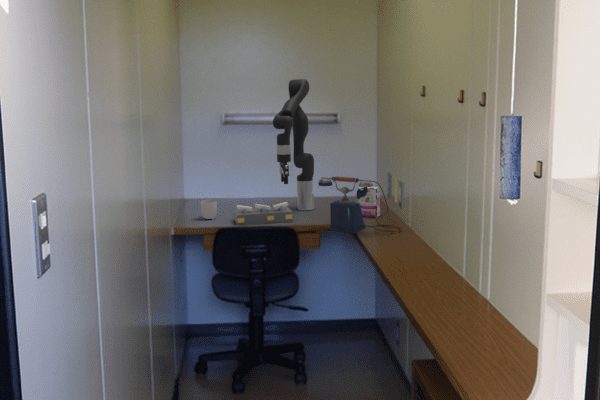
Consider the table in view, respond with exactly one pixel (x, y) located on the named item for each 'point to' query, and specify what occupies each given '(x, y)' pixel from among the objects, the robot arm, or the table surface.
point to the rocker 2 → (280, 205)
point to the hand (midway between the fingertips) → (284, 182)
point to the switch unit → (263, 216)
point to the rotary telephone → (349, 207)
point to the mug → (209, 208)
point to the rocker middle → (262, 206)
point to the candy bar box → (370, 202)
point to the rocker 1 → (244, 207)
